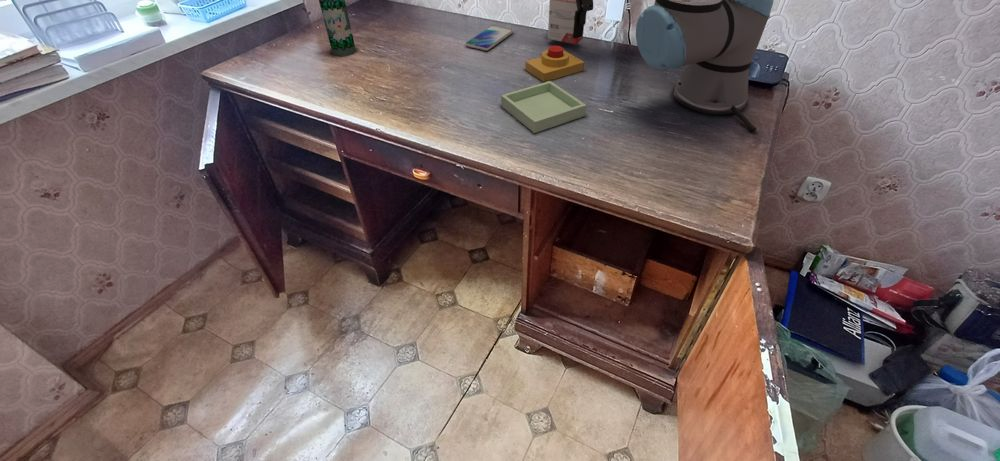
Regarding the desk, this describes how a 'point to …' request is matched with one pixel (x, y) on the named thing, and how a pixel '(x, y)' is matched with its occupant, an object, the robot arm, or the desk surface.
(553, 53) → the power button
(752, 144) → the desk surface
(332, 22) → the can
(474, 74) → the desk surface
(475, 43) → the smartphone
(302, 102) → the desk surface
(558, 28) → the ink box
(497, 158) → the desk surface
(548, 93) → the tray
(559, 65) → the power switch
